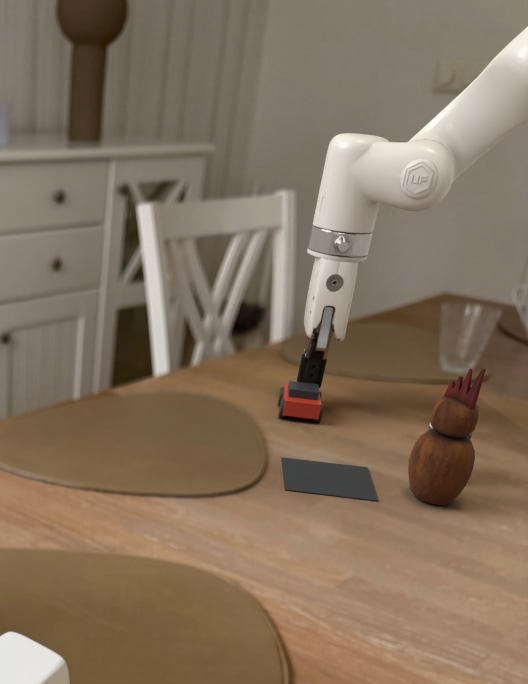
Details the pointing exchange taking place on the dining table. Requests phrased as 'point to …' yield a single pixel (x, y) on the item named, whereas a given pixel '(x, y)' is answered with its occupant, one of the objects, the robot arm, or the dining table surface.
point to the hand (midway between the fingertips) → (308, 385)
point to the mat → (328, 479)
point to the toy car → (300, 401)
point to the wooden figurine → (446, 444)
